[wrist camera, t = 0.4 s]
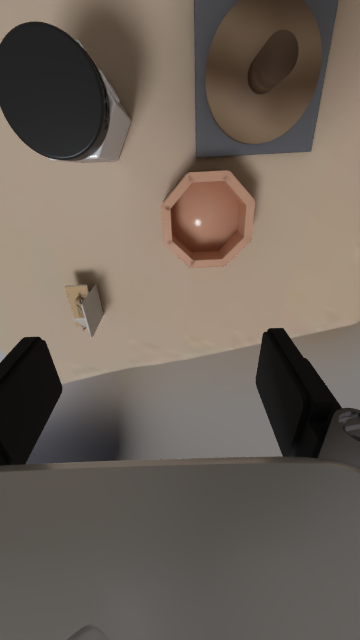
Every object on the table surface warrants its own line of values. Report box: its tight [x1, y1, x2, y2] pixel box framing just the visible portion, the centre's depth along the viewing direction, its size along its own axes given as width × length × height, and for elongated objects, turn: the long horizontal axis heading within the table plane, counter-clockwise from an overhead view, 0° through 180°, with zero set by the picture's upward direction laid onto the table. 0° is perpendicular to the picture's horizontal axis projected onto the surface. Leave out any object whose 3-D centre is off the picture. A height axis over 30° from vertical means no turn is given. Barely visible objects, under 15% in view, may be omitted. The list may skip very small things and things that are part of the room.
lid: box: [205, 0, 322, 145], centre depth 25 cm, size 12×12×6 cm
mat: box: [194, 0, 338, 158], centre depth 28 cm, size 14×14×1 cm
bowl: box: [162, 170, 255, 268], centre depth 33 cm, size 11×11×5 cm
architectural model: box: [65, 285, 103, 338], centre depth 38 cm, size 3×7×7 cm, turn 3°
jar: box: [0, 22, 131, 163], centre depth 24 cm, size 9×8×12 cm
